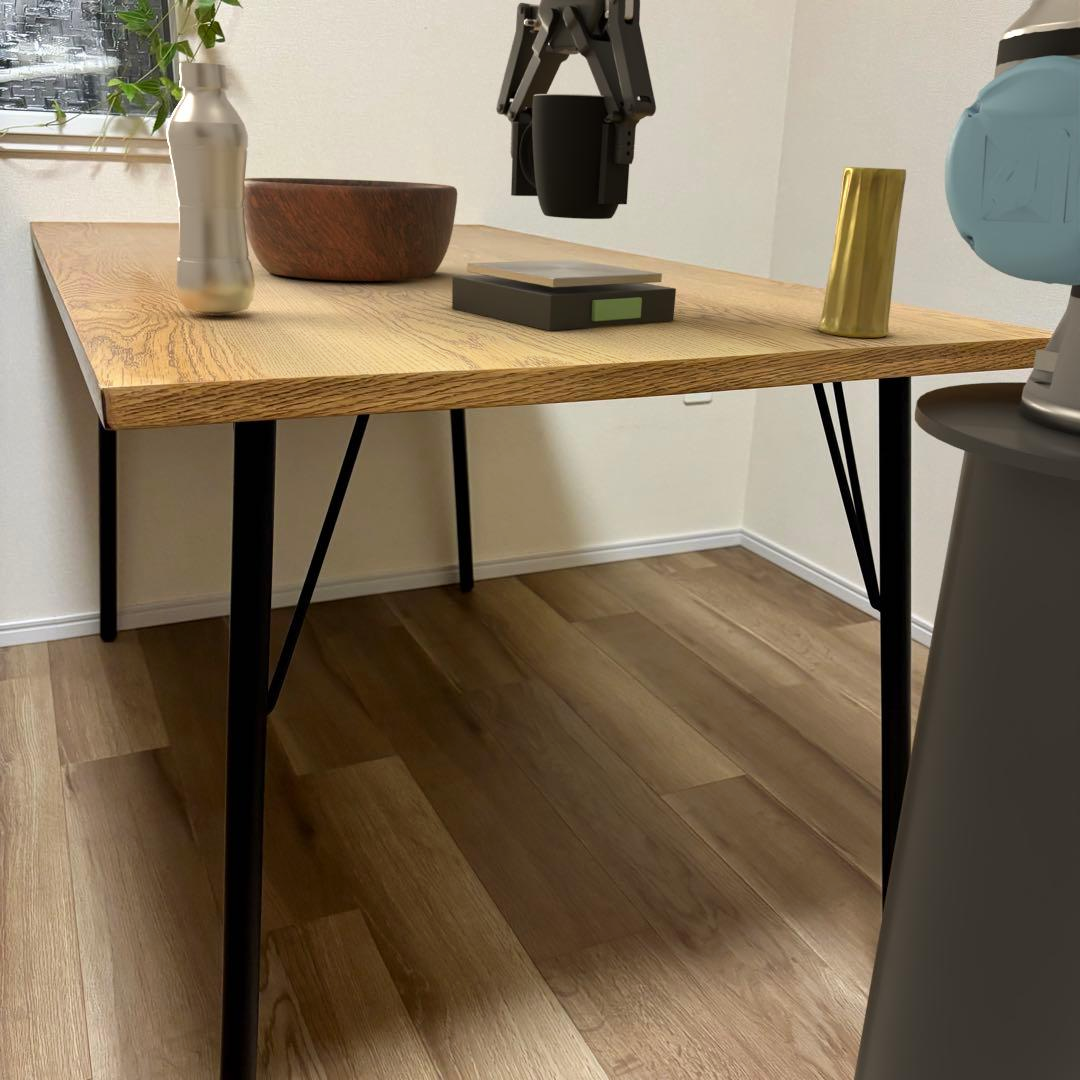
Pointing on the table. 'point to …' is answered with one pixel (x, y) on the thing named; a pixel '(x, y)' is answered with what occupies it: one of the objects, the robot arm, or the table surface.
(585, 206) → the mug
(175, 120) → the silver bottle
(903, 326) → the table surface
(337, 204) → the wooden bowl
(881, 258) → the vase
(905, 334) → the table surface
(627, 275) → the scale pan
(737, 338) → the table surface
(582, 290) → the scale
